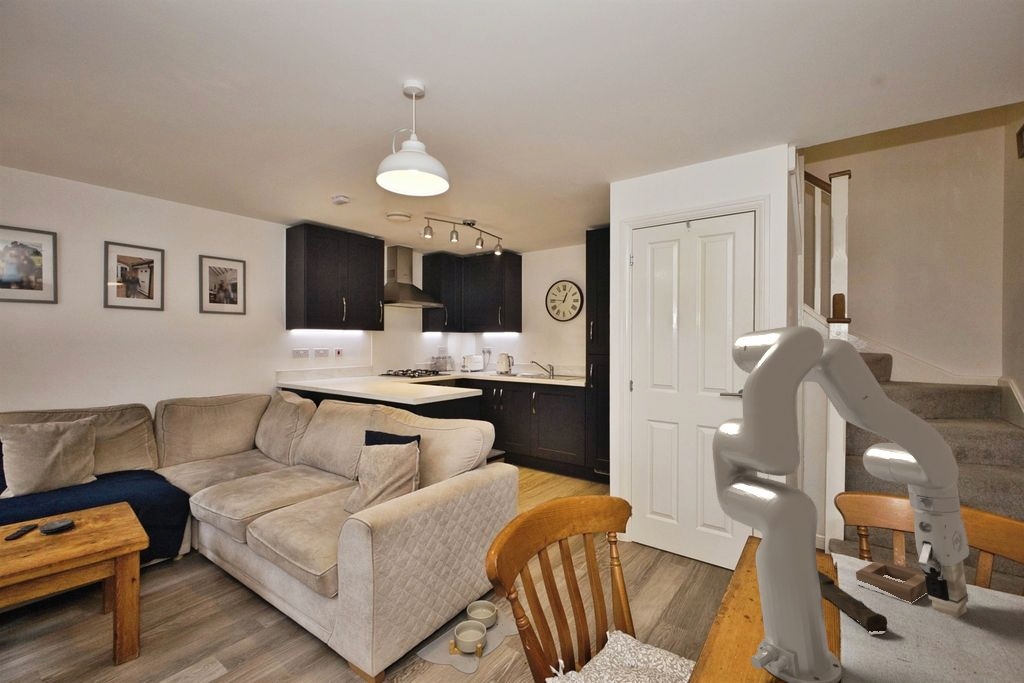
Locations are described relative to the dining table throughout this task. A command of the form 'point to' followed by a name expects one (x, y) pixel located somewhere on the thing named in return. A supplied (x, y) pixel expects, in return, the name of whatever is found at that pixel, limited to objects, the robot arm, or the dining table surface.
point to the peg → (952, 591)
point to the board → (905, 590)
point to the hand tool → (851, 605)
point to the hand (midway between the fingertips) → (947, 591)
